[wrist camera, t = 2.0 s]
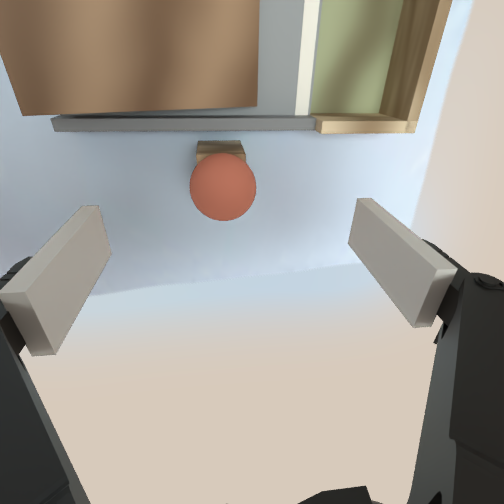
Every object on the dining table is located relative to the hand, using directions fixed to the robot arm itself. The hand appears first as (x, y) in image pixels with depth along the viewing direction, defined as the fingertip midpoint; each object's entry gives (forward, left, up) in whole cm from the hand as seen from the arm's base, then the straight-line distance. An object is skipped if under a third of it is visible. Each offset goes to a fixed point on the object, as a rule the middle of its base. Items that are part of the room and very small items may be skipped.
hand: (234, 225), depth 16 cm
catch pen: (+10, +9, -12) cm, 18 cm away
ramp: (-4, +9, -10) cm, 14 cm away
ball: (0, 0, -5) cm, 5 cm away
